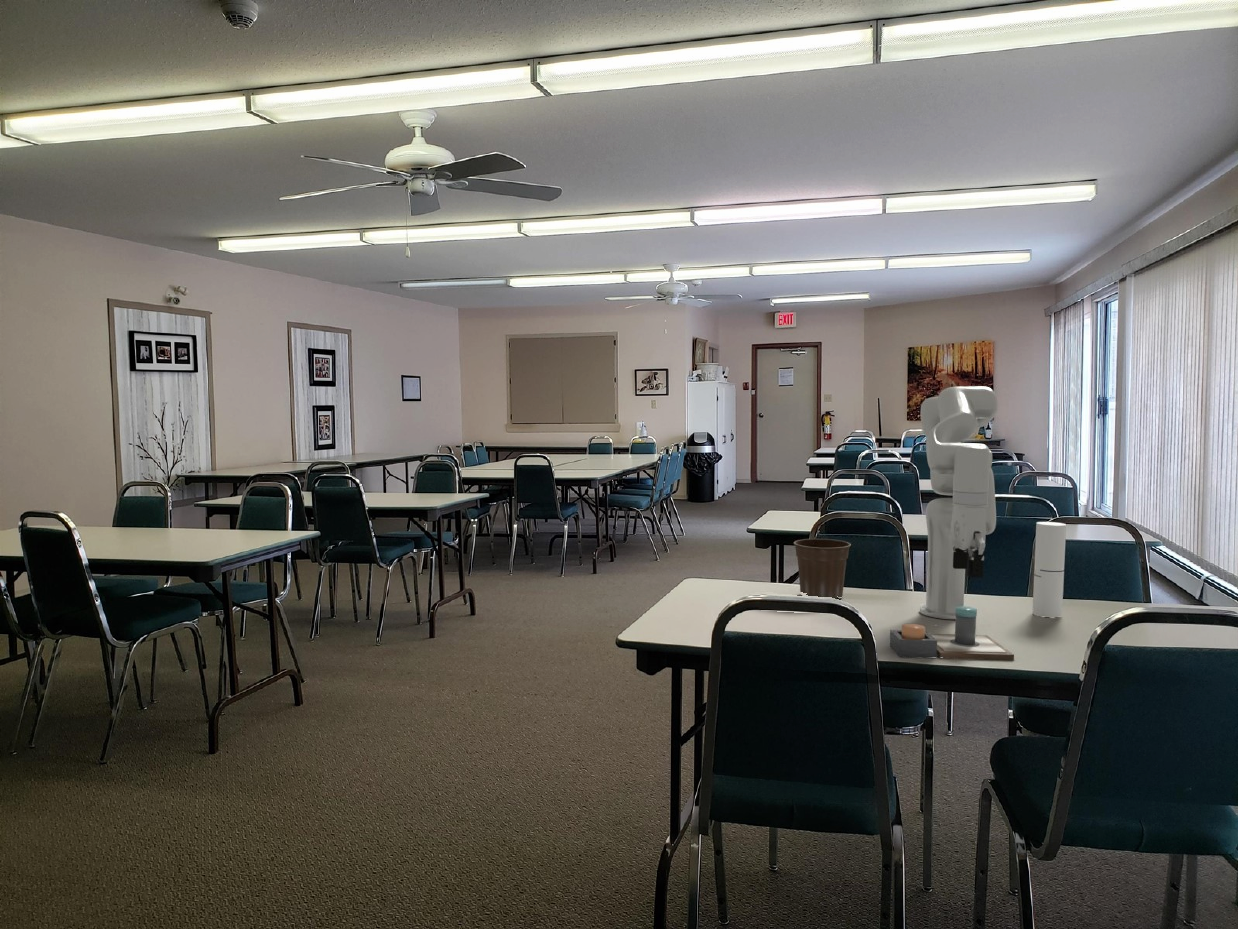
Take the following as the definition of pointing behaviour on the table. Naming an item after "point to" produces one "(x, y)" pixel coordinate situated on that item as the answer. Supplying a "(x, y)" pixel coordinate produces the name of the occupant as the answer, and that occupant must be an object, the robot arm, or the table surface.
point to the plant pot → (822, 566)
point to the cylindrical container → (1049, 569)
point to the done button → (913, 631)
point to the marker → (965, 625)
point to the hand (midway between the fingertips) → (967, 572)
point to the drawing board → (971, 648)
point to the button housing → (913, 645)
